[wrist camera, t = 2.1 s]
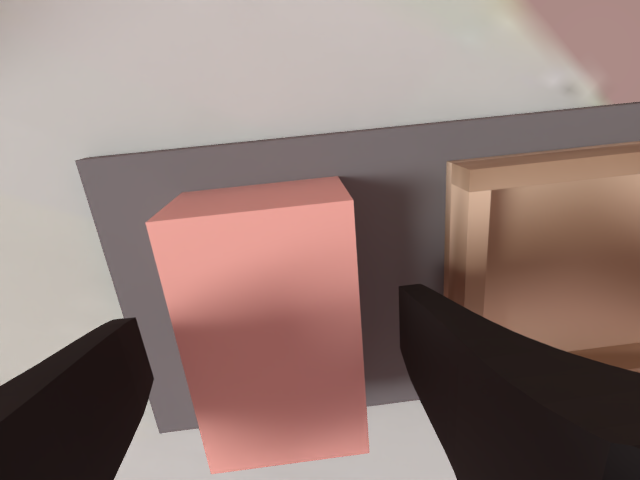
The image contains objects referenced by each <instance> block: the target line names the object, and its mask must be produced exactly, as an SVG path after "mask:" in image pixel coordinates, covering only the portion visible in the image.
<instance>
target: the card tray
mask: <svg viewBox="0 0 640 480" xmlns="http://www.w3.org/2000/svg"><path fill="white" fill-rule="evenodd" d="M444 296H445V297H447V298H449V299H450V300H452V301H454V302H456V303H458V304H459V305H461V306H463V307H465V308H467V309H469V310H471V311H472V312H474V313H476V314H478V315H480V316H482V317H484V318H486V319H488V320H490V321H492V322H494V323H497V324H499V325H501V326H503V327H505V328H507V329H510V330H512V331H514V332H516V333H519V334H521V335H523V336H526V337H528V338H531V339H534V340H536V341H539V342H541V343H544V344H547V345H549V346H552V347H555V348H557V349H560V350H563V351H566V352H569V353H572V354H575V355H579V356H582V357H585V358H588V359H592V360H595V361H598V362H602V363H605V364H608V365H612V366H616V367H619V368H623V369H627V370H631V371H635V372H639V373H640V141H634V142H624V143H615V144H605V145H596V146H586V147H577V148H567V149H558V150H548V151H539V152H529V153H520V154H510V155H501V156H491V157H482V158H472V159H463V160H453V161H447V163H446V207H445V252H444Z"/></svg>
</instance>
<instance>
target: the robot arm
mask: <svg viewBox="0 0 640 480" xmlns="http://www.w3.org/2000/svg"><path fill="white" fill-rule="evenodd" d="M399 330H400V350H401V353H402V356H403V359H404V363H405V366H406V369H407V371H408V374H409V377H410V380H411V382H412V384H413V386H414V389H415V391H416V393H417V395H418V397H419V399H420V401H421V403H422V405H423V407H424V409H425V411H426V413H427V415H428V417H429V420H430V422H431V424H432V426H433V428H434V430H435V432H436V434H437V436H438V438H439V440H440V442H441V444H442V446H443V448H444V450H445V452H446V454H447V457H448V459H449V461H450V464H451V466H452V468H453V470H454V473H455V475H456V478H457V480H640V373H639V372H635V371H631V370H627V369H623V368H619V367H616V366H612V365H608V364H605V363H602V362H598V361H595V360H592V359H588V358H585V357H582V356H579V355H575V354H572V353H569V352H566V351H563V350H560V349H557V348H555V347H552V346H549V345H547V344H544V343H541V342H539V341H536V340H534V339H531V338H528V337H526V336H523V335H521V334H519V333H516V332H514V331H512V330H510V329H507V328H505V327H503V326H501V325H499V324H497V323H494V322H492V321H490V320H488V319H486V318H484V317H482V316H480V315H478V314H476V313H474V312H472V311H471V310H469V309H467V308H465V307H463V306H461V305H459V304H458V303H456V302H454V301H452V300H450V299H449V298H447V297H445V296H443V295H441V294H440V293H438V292H436V291H434V290H432V289H430V288H429V287H427V286H425V285H422V284H413V285H404V286H399ZM153 381H154V377H153V373H152V370H151V367H150V363H149V360H148V357H147V353H146V350H145V347H144V343H143V340H142V337H141V333H140V330H139V327H138V323H137V320H136V317H133V318H124V319H116V320H111V321H109V322H107V323H105V324H103V325H101V326H99V327H98V328H96V329H94V330H92V331H91V332H89V333H87V334H86V335H84V336H82V337H81V338H79V339H77V340H76V341H74V342H73V343H71V344H69V345H68V346H66V347H65V348H63V349H61V350H60V351H58V352H57V353H55V354H53V355H52V356H50V357H48V358H47V359H45V360H44V361H42V362H40V363H39V364H37V365H36V366H34V367H32V368H30V369H29V370H27V371H25V372H24V373H22V374H20V375H18V376H17V377H15V378H13V379H12V380H10V381H8V382H7V383H5V384H3V385H1V386H0V480H114V478H115V476H116V474H117V471H118V469H119V467H120V465H121V463H122V461H123V458H124V456H125V454H126V452H127V450H128V448H129V445H130V443H131V441H132V439H133V437H134V434H135V432H136V430H137V428H138V426H139V423H140V421H141V419H142V416H143V414H144V411H145V408H146V405H147V402H148V399H149V395H150V392H151V388H152V385H153Z"/></svg>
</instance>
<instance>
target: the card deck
mask: <svg viewBox="0 0 640 480" xmlns="http://www.w3.org/2000/svg"><path fill="white" fill-rule="evenodd" d="M145 223H146V227H147V231H148V235H149V239H150V242H151V246H152V250H153V254H154V258H155V262H156V265H157V269H158V273H159V277H160V281H161V284H162V288H163V292H164V296H165V300H166V304H167V307H168V311H169V315H170V319H171V323H172V327H173V330H174V334H175V338H176V342H177V346H178V350H179V353H180V357H181V361H182V365H183V369H184V372H185V376H186V380H187V384H188V388H189V392H190V395H191V399H192V403H193V407H194V411H195V415H196V418H197V422H198V426H199V430H200V434H201V437H202V441H203V445H204V449H205V453H206V457H207V460H208V464H209V468H210V472H211V474H216V473H224V472H231V471H238V470H246V469H253V468H261V467H268V466H276V465H283V464H291V463H298V462H306V461H313V460H321V459H328V458H336V457H343V456H350V455H358V454H365V453H369V439H368V423H367V407H366V391H365V376H364V360H363V344H362V328H361V312H360V296H359V281H358V265H357V249H356V233H355V217H354V201H353V199H352V197H351V196H350V194H349V193H348V191H347V189H346V188H345V186H344V185H343V183H342V182H341V180H340V179H339V177H338V176H333V177H324V178H314V179H305V180H295V181H286V182H276V183H267V184H257V185H248V186H238V187H229V188H219V189H210V190H200V191H191V192H182V193H181V194H179V195H178V196H177V197H176V198H175V199H173V200H172V201H171V202H170V203H168V204H167V205H166V206H165V207H164V208H162V209H161V210H160V211H159V212H157V213H156V214H155V215H154V216H153V217H151V218H150V219H149V220H148V221H147V222H145Z"/></svg>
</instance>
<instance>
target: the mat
mask: <svg viewBox="0 0 640 480" xmlns="http://www.w3.org/2000/svg"><path fill="white" fill-rule="evenodd" d="M634 141H640V102H633V103H624V104H614V105H604V106H594V107H584V108H574V109H564V110H554V111H544V112H535V113H525V114H515V115H505V116H495V117H485V118H475V119H465V120H455V121H446V122H436V123H426V124H416V125H406V126H396V127H386V128H376V129H366V130H357V131H347V132H337V133H327V134H317V135H307V136H297V137H287V138H277V139H267V140H258V141H248V142H238V143H228V144H218V145H208V146H198V147H188V148H178V149H169V150H159V151H149V152H139V153H129V154H119V155H109V156H99V157H89V158H84V159H80V160H76V165H77V168H78V171H79V174H80V177H81V181H82V184H83V187H84V190H85V194H86V197H87V200H88V203H89V207H90V210H91V213H92V216H93V219H94V223H95V226H96V229H97V232H98V236H99V239H100V242H101V245H102V249H103V252H104V255H105V258H106V261H107V265H108V268H109V271H110V274H111V278H112V281H113V284H114V287H115V290H116V294H117V297H118V300H119V303H120V307H121V310H122V313H123V316H124V318H133V317H136V320H137V323H138V327H139V330H140V333H141V337H142V340H143V343H144V347H145V350H146V353H147V357H148V360H149V363H150V367H151V370H152V373H153V377H154V381H153V385H152V388H151V392H150V395H149V400H150V404H151V407H152V410H153V413H154V416H155V420H156V423H157V426H158V429H159V433H166V432H173V431H181V430H189V429H197V428H199V426H198V422H197V418H196V415H195V411H194V407H193V403H192V399H191V395H190V392H189V388H188V384H187V380H186V376H185V372H184V369H183V365H182V361H181V357H180V353H179V350H178V346H177V342H176V338H175V334H174V330H173V327H172V323H171V319H170V315H169V311H168V307H167V304H166V300H165V296H164V292H163V288H162V284H161V281H160V277H159V273H158V269H157V265H156V262H155V258H154V254H153V250H152V246H151V242H150V239H149V235H148V231H147V227H146V223H145V222H147V221H148V220H149V219H150V218H151V217H153V216H154V215H155V214H156V213H157V212H159V211H160V210H161V209H162V208H164V207H165V206H166V205H167V204H168V203H170V202H171V201H172V200H173V199H175V198H176V197H177V196H178V195H179V194H181V193H182V192H191V191H200V190H210V189H219V188H229V187H238V186H248V185H257V184H267V183H276V182H286V181H295V180H305V179H314V178H324V177H333V176H338V177H339V179H340V180H341V182H342V183H343V185H344V186H345V188H346V189H347V191H348V193H349V194H350V196H351V197H352V199H353V201H354V217H355V233H356V249H357V265H358V281H359V296H360V312H361V328H362V344H363V360H364V376H365V391H366V407H367V406H375V405H382V404H390V403H398V402H405V401H413V400H420V399H419V397H418V395H417V393H416V391H415V389H414V386H413V384H412V382H411V380H410V377H409V374H408V371H407V369H406V366H405V363H404V359H403V356H402V353H401V350H400V330H399V286H404V285H413V284H422V285H425V286H427V287H429V288H430V289H432V290H434V291H436V292H438V293H440V294H441V295H443V296H444V252H445V207H446V163H447V161H453V160H463V159H472V158H482V157H491V156H501V155H510V154H520V153H529V152H539V151H548V150H558V149H567V148H577V147H586V146H596V145H605V144H615V143H624V142H634Z"/></svg>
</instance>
